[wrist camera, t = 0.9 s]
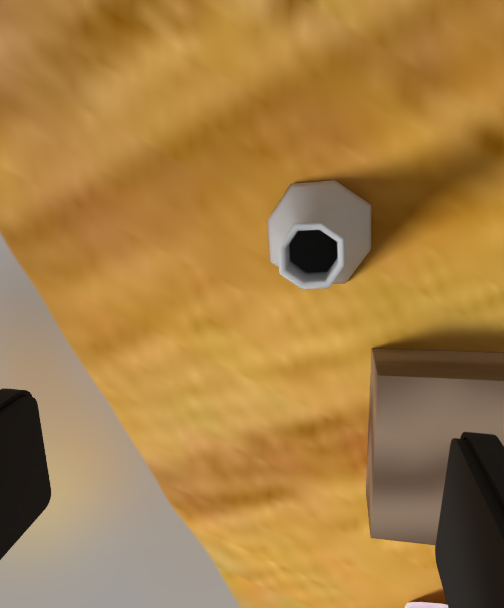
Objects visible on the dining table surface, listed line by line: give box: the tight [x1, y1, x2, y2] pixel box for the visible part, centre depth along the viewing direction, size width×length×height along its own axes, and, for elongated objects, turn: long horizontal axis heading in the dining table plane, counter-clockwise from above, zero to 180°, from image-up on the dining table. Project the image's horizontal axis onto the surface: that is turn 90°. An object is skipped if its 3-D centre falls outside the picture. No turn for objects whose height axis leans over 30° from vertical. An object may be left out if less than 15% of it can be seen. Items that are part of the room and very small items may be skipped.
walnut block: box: [366, 348, 504, 545], centre depth 29 cm, size 12×12×5 cm
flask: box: [268, 180, 371, 289], centre depth 24 cm, size 7×7×10 cm
